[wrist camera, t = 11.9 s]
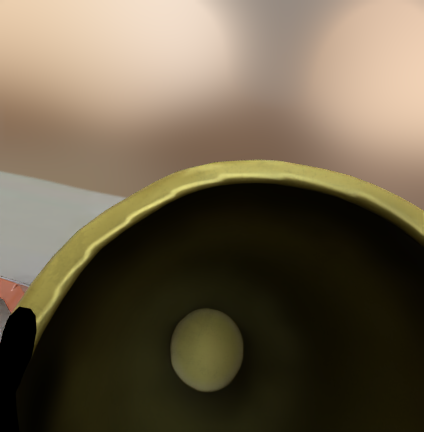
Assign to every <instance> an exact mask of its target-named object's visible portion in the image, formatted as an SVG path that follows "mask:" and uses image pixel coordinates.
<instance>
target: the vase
mask: <svg viewBox="0 0 424 432" xmlns="http://www.w3.org/2000/svg"><path fill="white" fill-rule="evenodd" d="M0 432H424V211H423V210H422V209H420V208H418V207H417V206H415V205H413V204H411V203H410V202H408V201H406V200H404V199H402V198H401V197H399V196H397V195H395V194H393V193H390V192H388V191H386V190H384V189H382V188H380V187H378V186H375V185H373V184H371V183H368V182H365V181H363V180H360V179H358V178H355V177H352V176H349V175H345V174H341V173H338V172H334V171H330V170H326V169H321V168H316V167H311V166H305V165H300V164H294V163H288V162H282V161H271V160H244V161H226V162H214V163H210V164H206V165H201V166H195V167H191V168H188V169H184V170H181V171H178V172H175V173H173V174H171V175H169V176H166V177H164V178H162V179H160V180H158V181H156V182H154V183H152V184H151V185H149V186H147V187H145V188H143V189H142V190H140V191H138V192H136V193H135V194H133V195H131V196H129V197H128V198H126V199H124V200H123V201H121V202H119V203H117V204H116V205H114V206H112V207H111V208H109V209H107V210H106V211H104V212H103V213H101V214H100V215H99V216H97V217H96V218H95V219H93V220H92V221H91V222H89V223H88V224H87V225H85V226H84V227H83V228H81V229H80V230H79V231H77V232H76V233H75V234H74V235H73V236H72V237H71V238H70V239H69V240H68V241H67V243H66V244H65V245H64V246H63V247H62V248H61V249H60V250H59V251H58V252H57V253H56V254H55V255H54V256H53V257H52V258H51V260H50V261H49V262H48V263H47V265H46V266H45V267H44V268H43V270H42V271H41V272H40V273H39V275H38V276H37V277H36V278H35V280H34V281H33V282H32V283H31V285H30V286H29V287H28V289H27V290H26V292H25V293H24V295H23V296H22V298H21V299H20V301H19V302H18V304H17V305H16V307H15V308H14V310H13V312H12V313H11V315H10V316H9V318H8V320H7V323H6V325H5V328H4V331H3V334H2V338H1V342H0Z"/></svg>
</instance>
